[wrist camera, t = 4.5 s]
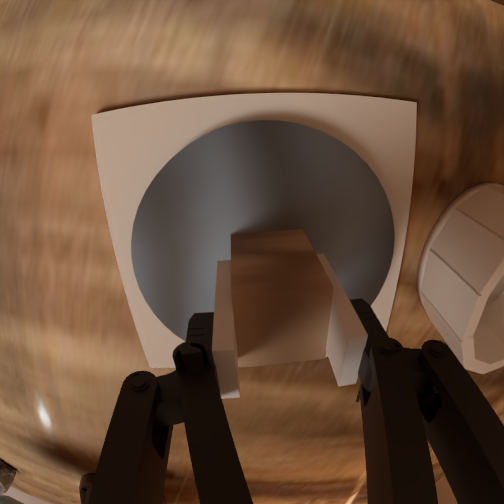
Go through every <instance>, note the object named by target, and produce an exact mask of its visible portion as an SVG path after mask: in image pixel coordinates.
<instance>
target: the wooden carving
mask: <svg viewBox="0 0 504 504" xmlns="http://www.w3.org/2000/svg"><path fill="white" fill-rule="evenodd" d="M492 1H495V2H497V3H499V4H502V5H504V0H492Z"/></svg>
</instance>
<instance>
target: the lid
mask: <svg viewBox="0 0 504 504" xmlns="http://www.w3.org/2000/svg"><path fill="white" fill-rule="evenodd" d="M394 240H395V234H394V221H393V216H392V211H391V206H390V204H389V201H388V198H387V195H386V192H385V190H384V189H383V187H382V185H381V183H380V181H379V179H378V177H377V176H376V175H375V173H374V172H373V171H372V169H371V168H370V167H369V165H368V164H367V163H366V162H365V161H364V160H363V159H362V158H361V157H360V156H359V155H358V154H357V153H356V152H355V151H354V150H352V149H351V148H349V147H348V146H347V145H345V144H344V143H342V142H341V141H340V140H338V139H336V138H334V137H332V136H330V135H328V134H326V133H324V132H322V131H319V130H316V129H313V128H310V127H307V126H304V125H301V124H297V123H291V122H285V121H278V120H256V121H247V122H240V123H236V124H232V125H229V126H225V127H221V128H219V129H217V130H214V131H212V132H210V133H207V134H205V135H203V136H201V137H200V138H198V139H196V140H195V141H193V142H191V143H190V144H188V145H187V146H186V147H184V148H183V149H182V150H181V151H179V152H178V153H177V154H176V155H175V156H173V157H172V158H171V159H170V160H169V161H168V162H167V163H166V164H165V166H164V167H163V168H162V169H161V170H160V171H159V172H158V173H157V175H156V176H155V177H154V179H153V180H152V182H151V183H150V185H149V186H148V188H147V190H146V191H145V193H144V195H143V197H142V200H141V202H140V204H139V206H138V209H137V212H136V216H135V220H134V223H133V229H132V237H131V258H132V264H133V270H134V274H135V278H136V281H137V284H138V287H139V289H140V291H141V293H142V295H143V297H144V299H145V301H146V303H147V304H148V306H149V307H150V309H151V310H152V312H153V313H154V314H155V316H156V317H157V318H158V319H159V320H160V321H161V322H162V323H163V325H165V326H166V327H167V328H168V329H169V330H170V331H171V332H173V333H174V334H175V335H176V336H178V337H179V338H181V339H182V340H184V341H185V342H186V337H187V330H188V322H189V319H190V318H191V317H192V316H193V314H194V313H203V312H214V304H215V289H216V274H217V261H225V260H231V299H232V308H233V314H234V324H235V334H236V343H237V353H238V361H239V368H240V367H253V366H265V365H275V364H285V363H294V362H303V361H311V360H318V359H325V357H326V344H327V337H328V329H329V321H330V313H331V304H332V298H333V285H332V283H331V281H330V279H329V277H328V276H327V274H326V272H325V270H324V268H323V266H322V264H321V262H320V260H319V258H318V256H317V255H316V254H324V255H325V257H326V259H327V260H328V262H329V264H330V266H331V268H332V269H333V271H334V273H335V275H336V277H337V278H338V280H339V282H340V284H341V286H342V287H343V289H344V291H345V293H346V295H347V297H348V298H349V300H350V299H359V298H362V299H363V300H364V301H366V302H367V303H369V304H370V306H371V305H372V304H373V302H374V301H375V299H376V298H377V296H378V295H379V293H380V291H381V289H382V287H383V285H384V283H385V281H386V278H387V275H388V272H389V269H390V266H391V262H392V257H393V252H394Z"/></svg>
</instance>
